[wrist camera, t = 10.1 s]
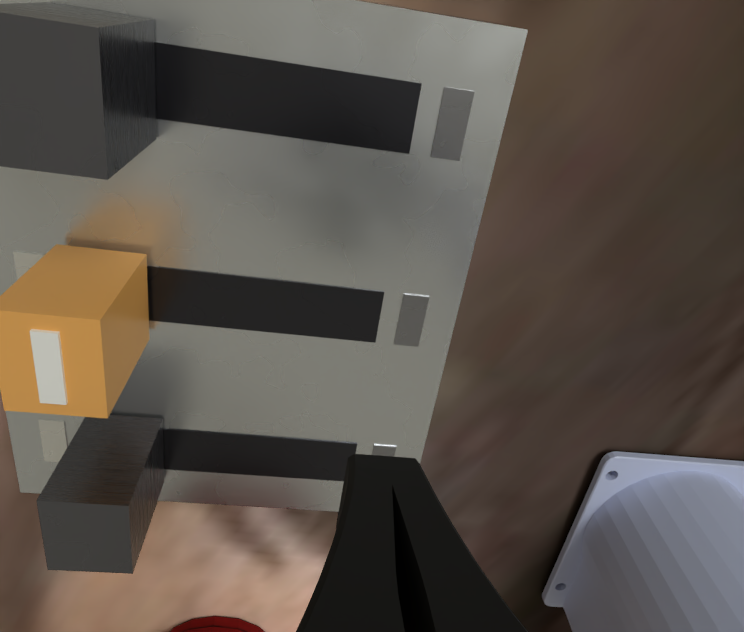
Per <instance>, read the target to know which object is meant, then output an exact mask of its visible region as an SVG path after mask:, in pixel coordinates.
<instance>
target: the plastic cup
mask: <svg viewBox="0 0 744 632" xmlns="http://www.w3.org/2000/svg"><path fill="white" fill-rule="evenodd" d="M170 632H264V631H263V630H262V629H261V628H260V627H258V626H256V625H253V624H251V623H248V622H246V621H243V620H241V619H236V618H227V617H218V616H213V617H206V618H198V619H192V620H190V621H187V622H185V623H183V624H181V625H178V626H176V627H174V628H173V629H172V630H171V631H170Z"/></svg>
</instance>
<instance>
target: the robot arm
mask: <svg viewBox="0 0 744 632" xmlns="http://www.w3.org/2000/svg"><path fill="white" fill-rule="evenodd" d="M610 471H612V472H610ZM608 472H610V473H608ZM542 598H543V601H544V603H545V605H547V606H551V607H563V608H564V611H565V613H566V616H567V619H568V621H569V624H570V627H571V629H572V632H744V461H734V460H721V459H708V458H695V457H683V456H670V455H657V454H644V453H631V452H619V451H615V452H609V453H607V454H606V455H604V456H603V458H602V459H601V461H600V463H599V466H598V468H597V470H596V472H595V475H594V477H593V479H592V481H591V484H590V486H589V488H588V491H587V493H586V495H585V497H584V500H583V502H582V504H581V506H580V509H579V511H578V513H577V516H576V518H575V520H574V522H573V525H572V527H571V529H570V531H569V534H568V536H567V538H566V541H565V543H564V545H563V547H562V550H561V552H560V554H559V556H558V559H557V561H556V563H555V566H554V568H553V570H552V572H551V575H550V577H549V579H548V581H547V584H546V586H545V588H544V591H543V593H542ZM296 632H528V631H527V630H526V628H525V627H524V626H523V625H522V624H521V622H520V621H519V620H518V619H517V617H516V616H515V615H514V614H513V612H512V611H511V610H510V608H509V607H508V606H507V604H506V603H505V602H504V600H503V599H502V598H501V596H500V595H499V594H498V592H497V591H496V589H495V588H494V587H493V585H492V584H491V582H490V581H489V579H488V578H487V577H486V575H485V574H484V572H483V571H482V570H481V568H480V567H479V565H478V564H477V562H476V561H475V559H474V558H473V556H472V555H471V553H470V551H469V550H468V548H467V547H466V545H465V543H464V542H463V540H462V539H461V537H460V535H459V534H458V532H457V531H456V529H455V527H454V526H453V524H452V522H451V521H450V519H449V517H448V516H447V514H446V512H445V510H444V509H443V507H442V505H441V503H440V502H439V500H438V498H437V496H436V494H435V493H434V491H433V489H432V487H431V485H430V483H429V481H428V479H427V477H426V475H425V474H424V472H423V470H422V468H421V466H420V463H419V462H418V461H417V460H416V459H415V458H406V457H393V456H379V455H365V454H353V455H351V456H350V457H348V460H347V466H346V471H345V477H344V483H343V489H342V495H341V501H340V506H339V512H338V518H337V526H336V533H335V536H334V540H333V543H332V546H331V548H330V551H329V554H328V556H327V559H326V562H325V565H324V567H323V570H322V573H321V575H320V578H319V581H318V583H317V586H316V588H315V590H314V593H313V595H312V598H311V600H310V602H309V604H308V607H307V609H306V611H305V613H304V616H303V618H302V620H301V622H300V624H299V626H298V629H297V631H296Z"/></svg>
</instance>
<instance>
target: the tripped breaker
mask: <svg viewBox="0 0 744 632" xmlns="http://www.w3.org/2000/svg"><path fill="white" fill-rule="evenodd" d="M148 341H149V311H148V281H147V254H140V253H131V252H122V251H113V250H104V249H95V248H86V247H77V246H68V245H59V244H56V245H55V246H54V247H53V248H52V249H51V250H50V251H49V252H48V253H46V254H45V255H44V256H43V257H42V258H41V259H40V260H39V261H38V262H37V263H36V264H34V265H33V266H32V267H31V268H30V269H29V270H28V271H27V272H26V273H25V274H24V275H22V276H21V277H20V278H19V279H18V280H17V281H16V282H15V283H14V284H13V285H12V286H10V287H9V288H8V289H7V290H6V291H5V292H4V293H3V294H2V295H1V296H0V390H1V395H2V401H3V406H4V411H17V412H30V413H43V414H56V415H69V416H82V417H95V418H108V417H109V415H110V413H111V411H112V410H113V408H114V406H115V404H116V402H117V400H118V398H119V396H120V394H121V392H122V390H123V389H124V387H125V385H126V383H127V381H128V379H129V377H130V375H131V373H132V371H133V369H134V368H135V366H136V364H137V362H138V360H139V358H140V356H141V354H142V352H143V350H144V348H145V347H146V345H147V343H148Z"/></svg>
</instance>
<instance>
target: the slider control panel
mask: <svg viewBox="0 0 744 632" xmlns="http://www.w3.org/2000/svg"><path fill="white" fill-rule="evenodd" d="M527 32H528V30H526V29H521V28H515V27H510V26H505V25H499V24H493V23H487V22H481V21H475V20H470V19H464V18H458V17H452V16H446V15H440V14H434V13H429V12H423V11H417V10H411V9H405V8H399V7H393V6H388V5H382V4H376V3H370V2H364V1H358V0H0V296H1V295H2V294H3V293H4V292H5V291H6V290H7V289H8V288H9V287H10V286H12V285H13V284H14V283H15V282H16V281H17V280H18V279H19V278H20V277H21V276H22V275H24V274H25V273H26V272H27V271H28V270H29V269H30V268H31V267H32V266H33V265H34V264H36V263H37V262H38V261H39V260H40V259H41V258H42V257H43V256H44V255H45V254H46V253H48V252H49V251H50V250H51V249H52V248H53V247H54V246H55V245H56V244H59V245H68V246H77V247H86V248H95V249H104V250H113V251H122V252H131V253H140V254H147V281H148V311H149V341H148V343H147V345H146V347H145V348H144V350H143V352H142V354H141V356H140V358H139V360H138V362H137V364H136V366H135V368H134V369H133V371H132V373H131V375H130V377H129V379H128V381H127V383H126V385H125V387H124V389H123V390H122V392H121V394H120V396H119V398H118V400H117V402H116V404H115V406H114V408H113V410H112V411H111V413H110V415H109V417H108V418H95V417H82V416H69V415H56V414H43V413H30V412H17V411H6V416H7V422H8V427H9V433H10V438H11V444H12V449H13V455H14V460H15V466H16V471H17V477H18V482H19V488H20V492H23V493H40V496H39V497H38V499H37V507H38V513H39V519H40V525H41V531H42V537H43V543H44V549H45V555H46V561H47V567H48V570H67V571H89V572H111V573H133V571H134V568H135V565H136V563H137V560H138V557H139V554H140V551H141V548H142V545H143V542H144V539H145V536H146V533H147V530H148V527H149V525H150V522H151V519H152V516H153V513H154V510H155V507H156V504H157V501H171V502H188V503H204V504H221V505H237V506H254V507H270V508H287V509H303V510H320V511H336V512H339V506H340V501H341V495H342V489H343V483H344V477H345V471H346V466H347V460H348V457H350V456H351V455H353V454H365V455H379V456H393V457H406V458H415V459H416V460H417V461H418V462H419V463H420V461H421V457H422V453H423V449H424V445H425V441H426V437H427V433H428V429H429V425H430V421H431V417H432V413H433V409H434V405H435V401H436V397H437V393H438V389H439V385H440V381H441V377H442V373H443V369H444V365H445V361H446V357H447V353H448V349H449V345H450V341H451V337H452V333H453V329H454V325H455V321H456V317H457V313H458V309H459V305H460V301H461V297H462V293H463V289H464V285H465V280H466V276H467V272H468V268H469V264H470V260H471V256H472V252H473V248H474V244H475V240H476V236H477V232H478V228H479V224H480V220H481V216H482V212H483V208H484V204H485V200H486V196H487V192H488V188H489V184H490V180H491V176H492V172H493V168H494V164H495V160H496V156H497V152H498V148H499V144H500V140H501V136H502V132H503V128H504V124H505V120H506V116H507V112H508V108H509V104H510V100H511V96H512V92H513V88H514V84H515V80H516V76H517V72H518V68H519V64H520V60H521V56H522V52H523V48H524V44H525V40H526V36H527Z"/></svg>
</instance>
